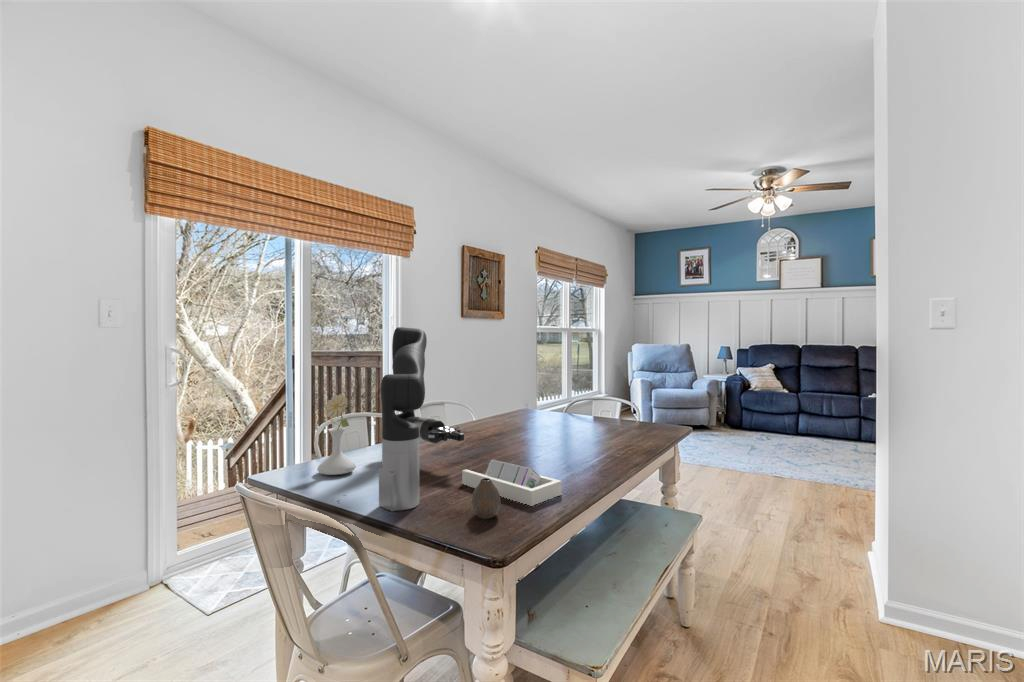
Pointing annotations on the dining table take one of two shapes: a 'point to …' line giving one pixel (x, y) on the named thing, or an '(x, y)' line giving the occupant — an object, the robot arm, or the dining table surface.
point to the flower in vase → (336, 440)
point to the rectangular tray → (517, 488)
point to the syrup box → (513, 473)
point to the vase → (486, 499)
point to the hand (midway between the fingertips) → (462, 437)
